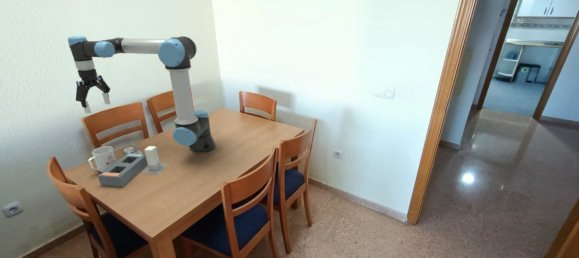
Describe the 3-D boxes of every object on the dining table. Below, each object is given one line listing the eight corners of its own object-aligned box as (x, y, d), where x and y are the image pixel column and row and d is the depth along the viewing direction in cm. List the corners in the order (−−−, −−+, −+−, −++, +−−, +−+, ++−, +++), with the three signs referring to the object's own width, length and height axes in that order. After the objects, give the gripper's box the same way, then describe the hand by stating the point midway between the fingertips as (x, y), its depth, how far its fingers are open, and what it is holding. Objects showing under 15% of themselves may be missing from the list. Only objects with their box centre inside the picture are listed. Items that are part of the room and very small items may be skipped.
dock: (148, 164, 145) (146, 154, 142) (123, 188, 126) (119, 177, 123) (129, 162, 146) (127, 152, 143) (101, 186, 127) (97, 175, 125)
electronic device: (127, 135, 156) (140, 141, 148) (132, 149, 160) (144, 156, 152) (118, 138, 153) (130, 145, 144) (122, 153, 157) (135, 160, 148)
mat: (169, 164, 145) (168, 163, 145) (159, 175, 136) (158, 174, 136) (151, 163, 146) (151, 162, 146) (140, 173, 137) (140, 172, 137)
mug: (110, 162, 146) (104, 144, 141) (122, 166, 143) (116, 147, 139) (88, 174, 136) (81, 155, 131) (100, 178, 133) (93, 159, 128)
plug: (160, 166, 142) (156, 146, 137) (156, 170, 139) (151, 150, 134) (153, 165, 143) (148, 146, 138) (149, 169, 139) (144, 149, 134)
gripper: (98, 63, 146) (109, 100, 155) (56, 74, 124) (72, 116, 133) (111, 64, 145) (121, 101, 154) (71, 74, 123) (85, 117, 132)
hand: (98, 108), depth 144 cm, fingers open, 13 cm apart
